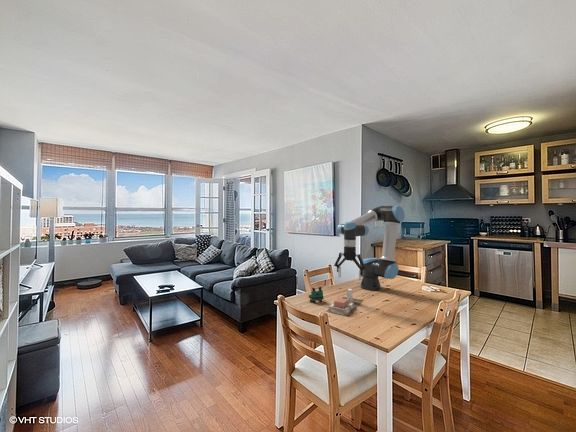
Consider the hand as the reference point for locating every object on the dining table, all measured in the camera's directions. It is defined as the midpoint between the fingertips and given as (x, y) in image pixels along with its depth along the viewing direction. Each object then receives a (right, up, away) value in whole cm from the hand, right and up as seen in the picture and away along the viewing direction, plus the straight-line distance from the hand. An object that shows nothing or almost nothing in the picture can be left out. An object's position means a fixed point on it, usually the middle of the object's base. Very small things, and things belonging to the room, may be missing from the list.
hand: (349, 278), depth 168 cm
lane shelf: (-4, -16, -6) cm, 18 cm away
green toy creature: (-22, -17, +3) cm, 27 cm away
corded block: (-4, -15, -7) cm, 18 cm away
